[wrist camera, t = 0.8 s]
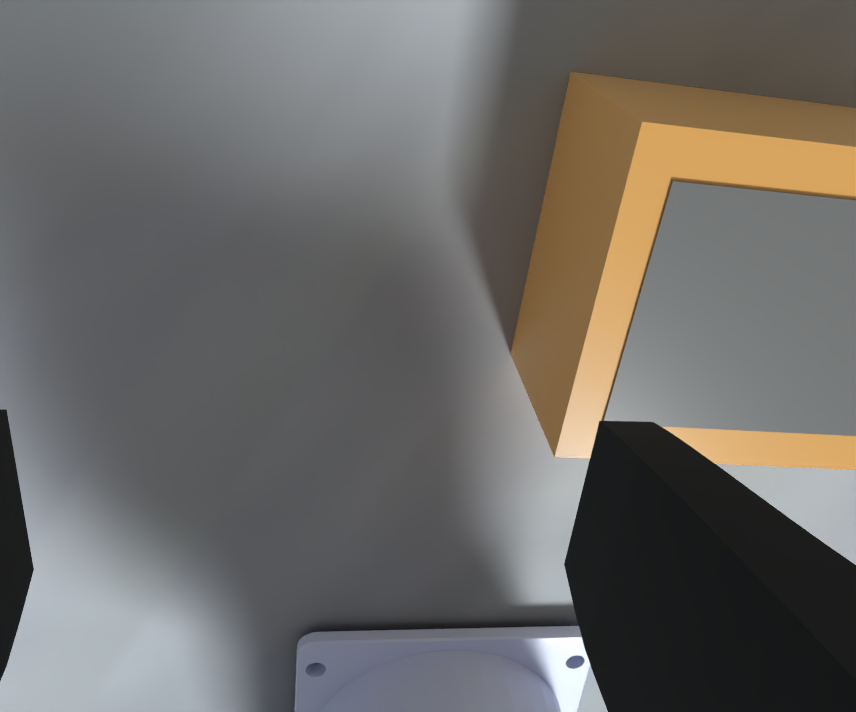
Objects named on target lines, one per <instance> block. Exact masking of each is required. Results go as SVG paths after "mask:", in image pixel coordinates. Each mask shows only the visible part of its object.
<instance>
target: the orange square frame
mask: <svg viewBox="0 0 856 712" xmlns="http://www.w3.org/2000/svg"><path fill="white" fill-rule="evenodd" d="M511 356H512V359H513V361H514V363H515V366H516V368H517V370H518V373H519V375H520V377H521V380H522V382H523V384H524V387H525V389H526V391H527V394H528V396H529V399H530V401H531V403H532V406H533V408H534V410H535V413H536V415H537V417H538V420H539V422H540V424H541V427H542V429H543V431H544V434H545V436H546V438H547V441H548V443H549V445H550V448H551V450H552V452H553V455H554V457H562V458H587V459H590V458H591V453H592V449H593V445H594V441H595V437H596V433H597V429H598V425H599V421H639V422H654V423H656V424H658V425H659V426H661V427H663V428H664V429H666V430H667V431H669V432H670V433H672V434H673V435H675V436H676V437H678V438H679V439H681V440H682V441H684V442H685V443H687V444H688V445H690V446H691V447H692V448H694V449H695V450H696V451H698V452H699V453H701V454H702V455H703V456H705V457H706V458H708V459H709V460H710V461H712V462H713V463H714V464H731V465H755V466H780V467H804V468H828V469H852V470H856V108H853V107H845V106H838V105H830V104H822V103H814V102H806V101H798V100H790V99H783V98H775V97H767V96H759V95H751V94H743V93H735V92H728V91H720V90H712V89H704V88H696V87H688V86H680V85H673V84H665V83H657V82H649V81H641V80H633V79H625V78H618V77H610V76H602V75H594V74H586V73H578V72H570V77H569V82H568V87H567V91H566V96H565V101H564V105H563V110H562V115H561V119H560V124H559V129H558V134H557V138H556V143H555V148H554V152H553V157H552V162H551V166H550V171H549V176H548V181H547V185H546V190H545V195H544V199H543V204H542V209H541V214H540V218H539V223H538V228H537V232H536V237H535V242H534V246H533V251H532V256H531V261H530V265H529V270H528V275H527V279H526V284H525V289H524V293H523V298H522V303H521V308H520V312H519V317H518V322H517V326H516V331H515V336H514V340H513V345H512V350H511Z"/></svg>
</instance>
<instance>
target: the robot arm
mask: <svg viewBox="0 0 856 712" xmlns="http://www.w3.org/2000/svg"><path fill="white" fill-rule="evenodd" d="M564 565H565V569H566V573H567V578H568V582H569V587H570V591H571V596H572V600H573V604H574V609H575V613H576V617H577V621H578V625H579V626H546V627H503V628H460V629H416V630H373V631H330V632H313V633H309V634H307V635H305V636H303V637H302V638H301V639H300V640H299V641H298V644H297V658H296V684H295V709H294V712H577V711H578V707H579V704H580V700H581V697H582V693H583V690H584V687H585V683H586V680H587V676H588V673H589V669H590V666H591V668H592V670H593V673H594V676H595V678H596V681H597V684H598V686H599V689H600V692H601V694H602V697H603V700H604V702H605V705H606V707H607V710H608V712H856V565H855V564H853V563H852V562H850V561H849V560H847V559H846V558H845V557H843V556H842V555H840V554H839V553H837V552H836V551H834V550H833V549H832V548H830V547H829V546H827V545H826V544H824V543H823V542H822V541H820V540H819V539H817V538H816V537H815V536H813V535H812V534H810V533H809V532H808V531H806V530H805V529H803V528H802V527H801V526H799V525H798V524H796V523H795V522H794V521H792V520H791V519H789V518H788V517H787V516H785V515H784V514H783V513H781V512H780V511H778V510H777V509H776V508H774V507H773V506H772V505H770V504H769V503H768V502H766V501H765V500H763V499H762V498H761V497H759V496H758V495H757V494H755V493H754V492H753V491H751V490H750V489H748V488H747V487H746V486H744V485H743V484H742V483H740V482H739V481H738V480H736V479H735V478H734V477H732V476H731V475H729V474H728V473H727V472H725V471H724V470H723V469H721V468H720V467H719V466H717V465H716V464H714V463H713V462H712V461H710V460H709V459H708V458H706V457H705V456H703V455H702V454H701V453H699V452H698V451H696V450H695V449H694V448H692V447H691V446H690V445H688V444H687V443H685V442H684V441H682V440H681V439H679V438H678V437H676V436H675V435H673V434H672V433H670V432H669V431H667V430H666V429H664V428H663V427H661V426H659V425H658V424H656V423H654V422H639V421H599V425H598V429H597V433H596V437H595V441H594V445H593V449H592V453H591V458H590V462H589V466H588V470H587V474H586V478H585V482H584V486H583V490H582V494H581V498H580V502H579V507H578V511H577V515H576V519H575V523H574V527H573V531H572V535H571V539H570V543H569V547H568V551H567V556H566V560H565V564H564ZM33 570H34V569H33V563H32V557H31V552H30V546H29V540H28V534H27V528H26V522H25V516H24V510H23V504H22V499H21V493H20V487H19V481H18V475H17V469H16V463H15V457H14V451H13V445H12V440H11V434H10V428H9V422H8V416H7V410H0V680H1V678H2V675H3V673H4V671H5V668H6V666H7V663H8V659H9V656H10V652H11V649H12V646H13V642H14V639H15V636H16V632H17V629H18V625H19V622H20V618H21V615H22V611H23V607H24V603H25V600H26V596H27V592H28V589H29V585H30V581H31V577H32V574H33ZM313 663H320V664H316V665H315V664H313Z"/></svg>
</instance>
